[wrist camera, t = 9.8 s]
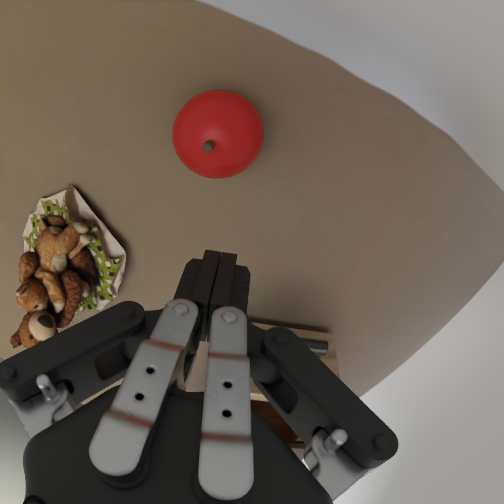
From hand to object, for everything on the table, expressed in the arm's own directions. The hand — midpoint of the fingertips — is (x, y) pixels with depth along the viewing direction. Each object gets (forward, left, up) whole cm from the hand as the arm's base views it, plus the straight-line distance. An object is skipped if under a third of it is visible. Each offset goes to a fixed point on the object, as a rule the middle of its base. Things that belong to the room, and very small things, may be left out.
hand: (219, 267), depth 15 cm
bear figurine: (+19, +6, -13) cm, 24 cm away
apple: (+1, -4, -12) cm, 13 cm away
